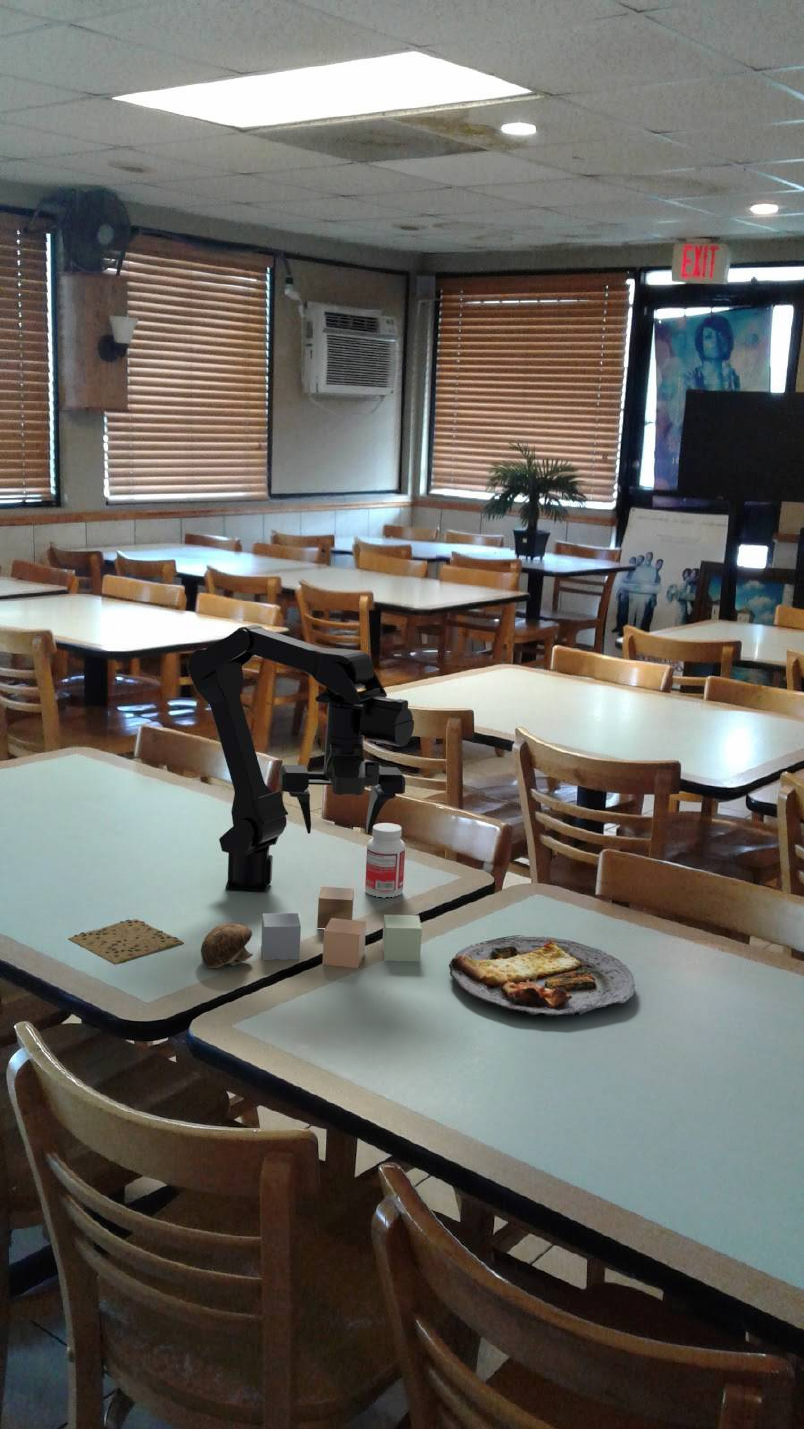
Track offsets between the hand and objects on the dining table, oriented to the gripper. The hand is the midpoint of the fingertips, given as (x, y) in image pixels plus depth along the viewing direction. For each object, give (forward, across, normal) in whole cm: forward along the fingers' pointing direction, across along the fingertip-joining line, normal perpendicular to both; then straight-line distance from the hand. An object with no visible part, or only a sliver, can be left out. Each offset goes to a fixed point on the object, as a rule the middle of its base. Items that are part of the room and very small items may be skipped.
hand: (338, 833), depth 194 cm
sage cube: (+12, +7, -19) cm, 23 cm away
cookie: (+13, -31, -12) cm, 36 cm away
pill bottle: (+12, +9, +6) cm, 17 cm away
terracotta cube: (+12, -1, -20) cm, 23 cm away
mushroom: (+12, -18, -21) cm, 30 cm away
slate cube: (+12, -10, -17) cm, 23 cm away
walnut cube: (+12, -1, -7) cm, 14 cm away
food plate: (+12, +24, -30) cm, 40 cm away
